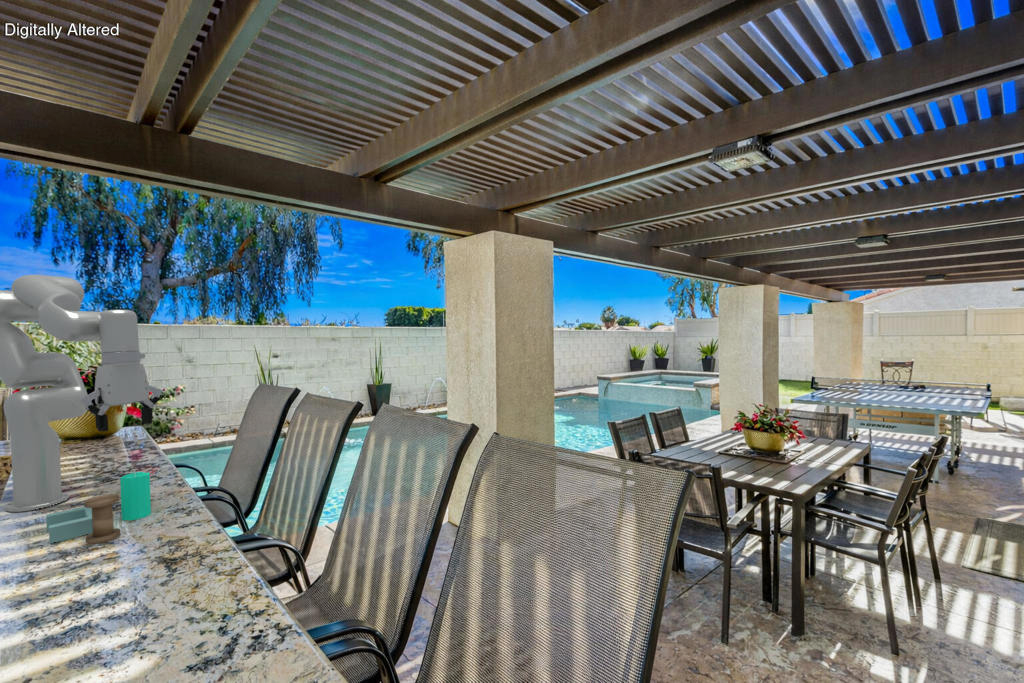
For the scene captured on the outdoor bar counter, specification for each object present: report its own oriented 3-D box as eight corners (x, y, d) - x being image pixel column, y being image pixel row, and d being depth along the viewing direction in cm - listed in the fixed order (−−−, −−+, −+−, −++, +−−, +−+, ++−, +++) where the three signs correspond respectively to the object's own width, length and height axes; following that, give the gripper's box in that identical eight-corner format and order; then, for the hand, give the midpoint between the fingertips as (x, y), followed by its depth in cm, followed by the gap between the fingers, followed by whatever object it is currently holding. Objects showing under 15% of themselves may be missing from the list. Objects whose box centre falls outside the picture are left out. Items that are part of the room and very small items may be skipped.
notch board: (46, 529, 116) (46, 514, 115) (96, 518, 122) (95, 504, 122) (50, 543, 107) (49, 528, 107) (103, 531, 114) (102, 516, 114)
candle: (135, 521, 119) (133, 472, 119) (115, 519, 121) (113, 471, 120) (157, 512, 125) (155, 466, 125) (138, 511, 127) (136, 465, 126)
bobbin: (79, 541, 108) (78, 501, 108) (111, 531, 114) (109, 492, 113) (95, 545, 106) (93, 504, 106) (126, 535, 111) (124, 495, 111)
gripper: (149, 357, 132) (154, 420, 132) (70, 362, 116) (75, 434, 116) (166, 356, 128) (171, 421, 129) (87, 361, 113) (92, 434, 113)
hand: (125, 427), depth 122 cm, fingers open, 9 cm apart
